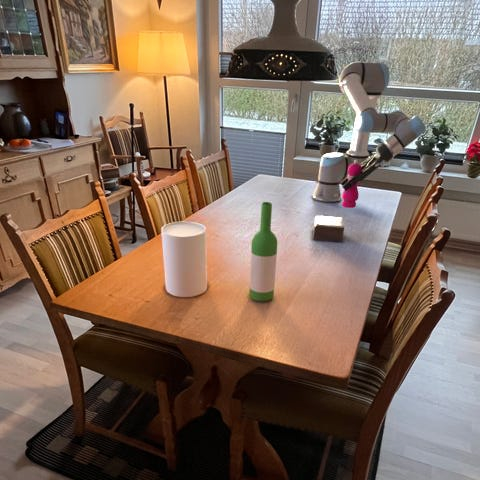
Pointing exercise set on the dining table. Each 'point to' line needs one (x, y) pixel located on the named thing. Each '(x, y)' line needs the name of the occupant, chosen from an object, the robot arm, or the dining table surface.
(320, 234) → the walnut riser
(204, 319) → the dining table surface
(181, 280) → the canister
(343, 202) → the pepper mill
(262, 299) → the wine bottle
